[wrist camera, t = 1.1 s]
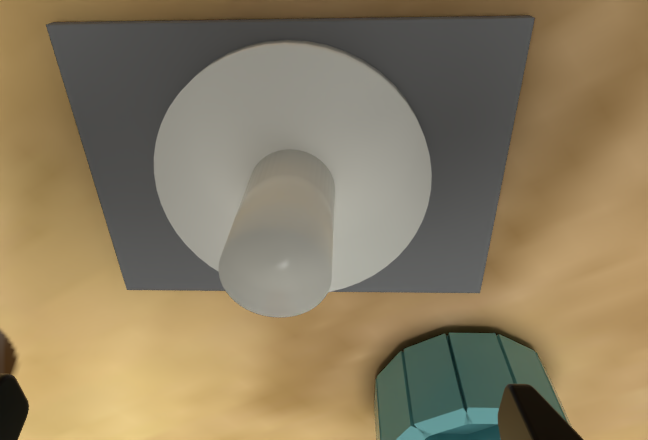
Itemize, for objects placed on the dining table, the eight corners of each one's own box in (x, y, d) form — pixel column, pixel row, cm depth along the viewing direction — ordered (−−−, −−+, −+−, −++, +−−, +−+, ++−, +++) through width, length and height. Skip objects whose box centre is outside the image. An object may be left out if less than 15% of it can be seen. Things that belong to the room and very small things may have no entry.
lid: (442, 37, 14) (489, 93, 9) (416, 282, 18) (439, 397, 14) (134, 41, 14) (36, 97, 10) (186, 280, 19) (136, 392, 14)
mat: (530, 15, 14) (534, 17, 13) (477, 286, 19) (479, 293, 19) (53, 22, 14) (45, 24, 14) (130, 283, 20) (126, 289, 19)
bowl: (563, 327, 20) (607, 409, 17) (525, 439, 24) (555, 524, 21) (378, 325, 20) (384, 405, 17) (371, 435, 24) (376, 519, 21)
